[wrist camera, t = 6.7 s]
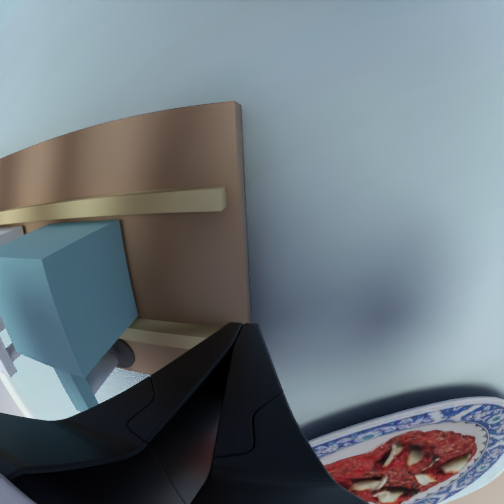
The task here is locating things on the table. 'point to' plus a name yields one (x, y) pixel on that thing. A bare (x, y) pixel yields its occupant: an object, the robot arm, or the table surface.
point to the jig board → (151, 217)
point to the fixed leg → (3, 356)
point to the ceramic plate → (416, 451)
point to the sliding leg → (68, 301)
